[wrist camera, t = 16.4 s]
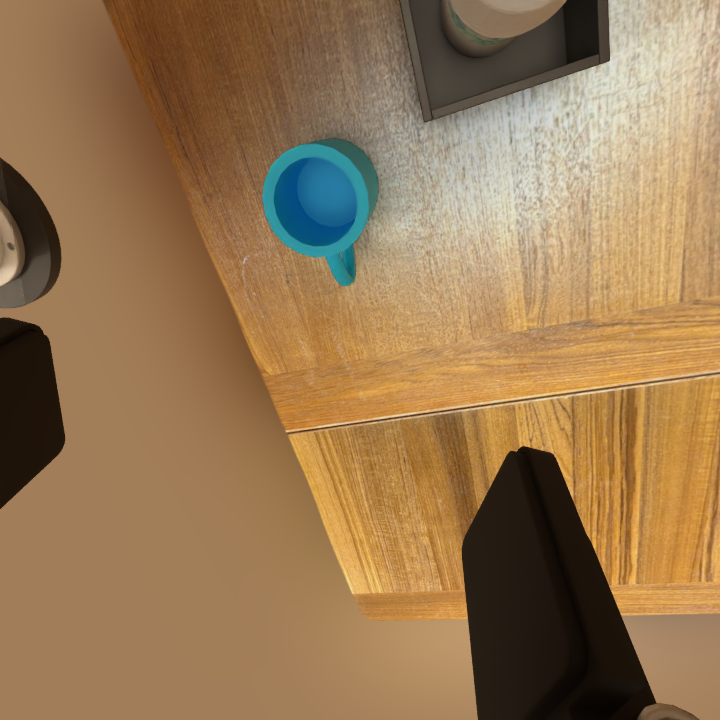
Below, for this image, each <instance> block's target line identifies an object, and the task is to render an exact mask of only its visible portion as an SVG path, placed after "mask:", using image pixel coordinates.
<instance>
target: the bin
mask: <svg viewBox="0 0 720 720" xmlns="http://www.w3.org/2000/svg"><path fill="white" fill-rule="evenodd" d="M399 2H400V7H401V12H402V17H403V21H404V26H405V31H406V36H407V41H408V46H409V51H410V56H411V60H412V65H413V70H414V75H415V80H416V85H417V90H418V95H419V100H420V104H421V109H422V114H423V119H424V122H428V121H431V120H434V119H437V118H440V117H443V116H446V115H449V114H452V113H455V112H458V111H461V110H464V109H467V108H470V107H473V106H476V105H479V104H482V103H485V102H488V101H491V100H494V99H497V98H500V97H503V96H506V95H509V94H512V93H515V92H518V91H521V90H524V89H527V88H530V87H533V86H536V85H539V84H542V83H545V82H548V81H551V80H554V79H557V78H560V77H563V76H566V75H569V74H572V73H575V72H578V71H581V70H584V69H587V68H590V67H594V66H597V65H599V64H603V63H606V62H609V61H610V45H609V15H608V0H567V1H566V2H565V3H564V4H563V6H562V7H561V8H560V9H559V10H558V11H557V12H556V13H555V14H554V15H553V16H551V17H550V18H549V19H548V20H546V21H545V22H544V23H542V24H540V25H539V26H537V27H535V28H534V29H531V30H529V31H528V32H525V33H523V34H521V35H519V36H518V37H517V39H516V40H515V41H514V42H513V43H511V44H510V45H509V46H508V47H507V48H505V49H504V50H502V51H501V52H499V53H497V54H494V55H491V56H486V57H469V56H466V55H464V54H462V53H460V52H459V51H458V50H457V49H456V48H455V47H454V46H453V45H452V44H451V43H450V41H449V40H448V38H447V37H446V35H445V33H444V31H443V29H442V24H441V18H440V0H399Z"/></svg>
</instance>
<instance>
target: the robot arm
mask: <svg viewBox="0 0 720 720" xmlns="http://www.w3.org/2000/svg"><path fill="white" fill-rule="evenodd" d="M24 262H25V247H24V242H23V238H22V235H21V232H20V230H19V228H18V225H17V223H16V221H15V220H14V218H13V216H12V215H11V213H10V212H9V210H8V209H7V208H6V207H5V205H4V204H3V203H2V202H1V200H0V286H3V285H5V284H8V283H10V282H12V281H13V280H14V279H16V278H17V277H18V276H19V274H20V273H21V271H22V269H23V266H24ZM64 443H65V433H64V427H63V421H62V414H61V408H60V403H59V396H58V390H57V384H56V378H55V371H54V365H53V359H52V353H51V346H50V341H49V339H48V337H47V336H46V335H44V333H43V331H42V330H41V328H40V327H39V326H37V325H35V324H31V323H27V322H23V321H19V320H15V319H11V318H0V509H1V508H2V507H3V506H4V505H5V504H6V503H7V502H8V501H9V500H10V499H12V498H13V497H14V496H15V495H16V494H17V493H18V492H19V491H20V490H21V489H22V488H23V487H24V486H25V485H27V484H28V483H29V482H30V481H31V480H32V479H33V478H34V477H35V476H36V475H37V474H38V473H39V472H40V471H41V470H42V469H44V467H46V466H47V465H48V464H49V463H50V462H51V461H52V460H53V459H54V458H55V457H56V456H57V455H58V454H59V453H60V452H61V450H62V448H63V446H64ZM462 562H463V572H464V582H465V593H466V603H467V613H468V623H469V633H470V643H471V654H472V664H473V674H474V684H475V694H476V705H477V715H478V720H699V719H698V718H697V717H695V716H694V715H693V714H691V713H689V712H687V711H685V710H683V709H680V708H678V707H676V706H674V705H668V704H662V703H656V701H655V698H654V696H653V693H652V691H651V689H650V686H649V683H648V681H647V679H646V676H645V674H644V671H643V669H642V666H641V664H640V661H639V659H638V657H637V654H636V651H635V649H634V646H633V644H632V642H631V639H630V637H629V634H628V632H627V629H626V627H625V624H624V622H623V620H622V617H621V614H620V612H619V609H618V607H617V605H616V602H615V600H614V597H613V595H612V592H611V590H610V587H609V585H608V582H607V580H606V577H605V575H604V572H603V570H602V568H601V565H600V563H599V560H598V558H597V555H596V553H595V550H594V548H593V545H592V543H591V541H590V539H589V538H588V536H587V535H586V532H585V530H584V527H583V525H582V522H581V520H580V517H579V515H578V512H577V510H576V507H575V505H574V502H573V500H572V497H571V495H570V492H569V490H568V487H567V485H566V482H565V480H564V477H563V475H562V472H561V470H560V467H559V465H558V462H557V460H556V458H555V456H554V455H553V454H552V453H549V452H545V451H541V450H537V449H533V448H529V447H525V446H523V447H521V448H519V449H518V451H517V452H515V451H510V452H509V453H508V454H507V456H506V458H505V460H504V462H503V464H502V466H501V468H500V469H499V471H498V473H497V475H496V477H495V479H494V481H493V483H492V485H491V487H490V489H489V491H488V493H487V495H486V497H485V499H484V500H483V502H482V504H481V506H480V508H479V510H478V512H477V514H476V516H475V518H474V520H473V522H472V524H471V526H470V528H469V530H468V531H467V533H466V535H465V538H464V541H463V545H462Z"/></svg>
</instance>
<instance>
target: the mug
mask: <svg viewBox="0 0 720 720" xmlns="http://www.w3.org/2000/svg"><path fill="white" fill-rule="evenodd" d="M378 193H379V191H378V177H377V174H376V172H375V169H374V166H373V164H372V162H371V161H370V159H369V158H368V157H367V156H366V154H365V153H364V152H363V151H362V150H361V149H359V148H358V147H356V146H355V145H354V144H352V143H351V142H347V141H343V140H340V139H326V140H319V141H315V142H311V143H307V144H302V145H298V146H296V147H294V148H292V149H290V150H288V151H286V152H284V153H283V154H282V155H281V156H280V157H279V158H278V159H277V160H276V161H275V162H274V163H273V164H272V165H271V168H270V170H269V172H268V174H267V177H266V179H265V181H264V189H263V198H262V199H263V205H264V210H265V216H266V218H267V220H268V222H269V224H270V226H271V228H272V230H273V232H274V233H275V234H276V235H277V236H278V238H279V239H280V240H281V241H282V242H283V243H284V244H285V245H286V246H288V247H290V248H291V249H293V250H294V251H296V252H298V253H300V254H304V255H308V256H311V257H326V259H327V262H328V264H329V267H330V269H331V272H332V274H333V276H334V277H335V279H336V281H337V282H338V283H339V284H341V285H342V286H349V285H351V284H352V283H353V282H354V281H355V276H356V264H355V256H354V249H353V243H354V242H355V241H356V240H357V239H358V237H359V235H360V234H361V232H362V230H363V229H364V227H365V225H366V223H367V221H368V220H369V218H370V216H371V214H372V212H373V210H374V208H375V206H376V201H377V197H378ZM340 252H341V254H342V258H341V255H340Z"/></svg>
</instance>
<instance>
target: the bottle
mask: <svg viewBox="0 0 720 720" xmlns="http://www.w3.org/2000/svg"><path fill="white" fill-rule="evenodd" d="M566 1H567V0H440V18H441V24H442V29H443V31H444V33H445V35H446V37H447V38H448V40H449V41H450V43H451V44H452V45H453V46H454V47H455V48H456V49H457V50H458V51H459V52H460V53H462V54H464V55H466V56H469V57H486V56H491V55H494V54H497V53H499V52H501V51H502V50H504V49H505V48H507V47H508V46H509V45H510V44H511V43H513V42H514V41H515V40H516V39H517V37H518V36H519V35H521V34H523V33H525V32H528V31H529V30H531V29H534V28H535V27H537V26H539V25H540V24H542V23H544V22H545V21H546V20H548V19H549V18H550V17H551V16H553V15H554V14H555V13H556V12H557V11H558V10H559V9H560V8H561V7H562V6H563V4H564V3H565V2H566Z"/></svg>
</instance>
